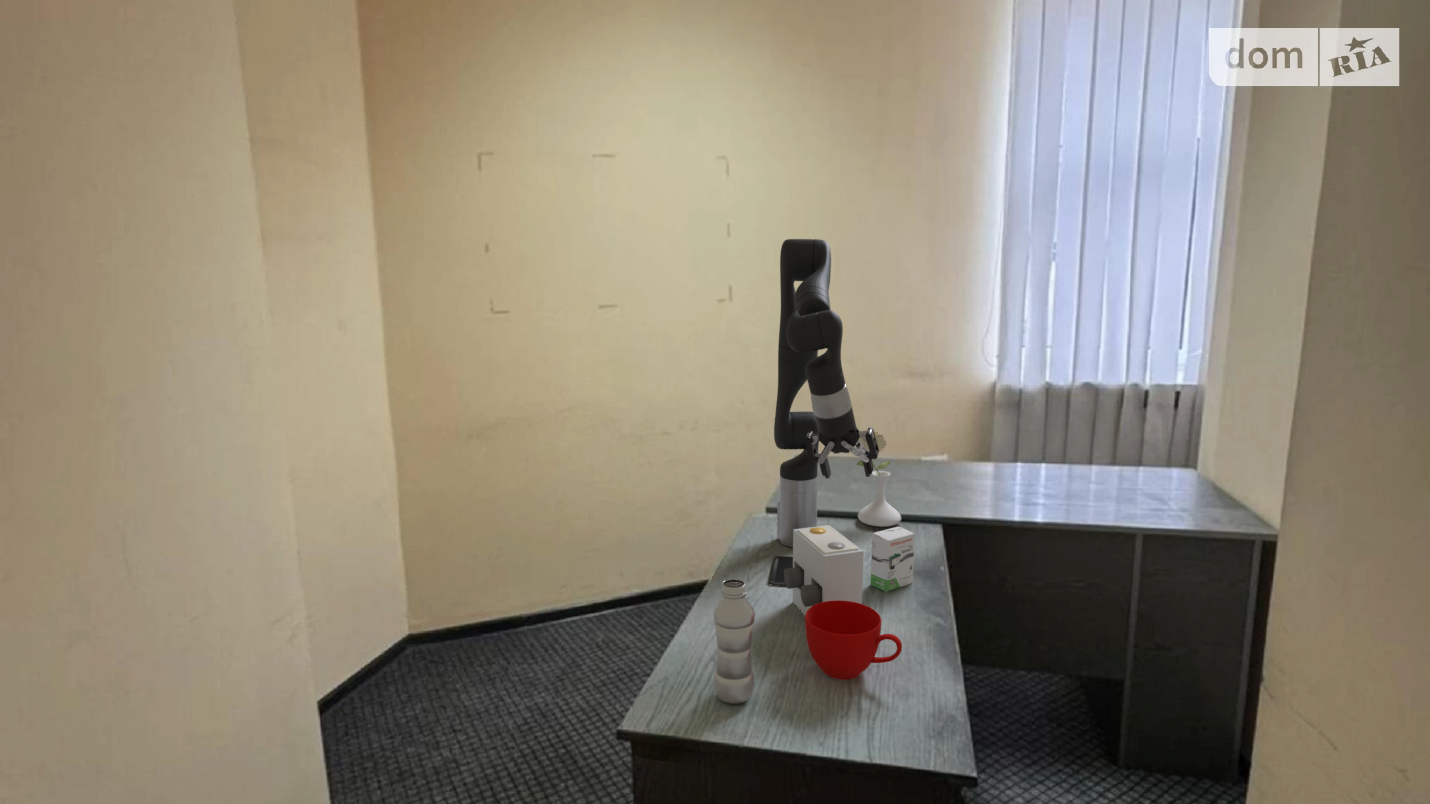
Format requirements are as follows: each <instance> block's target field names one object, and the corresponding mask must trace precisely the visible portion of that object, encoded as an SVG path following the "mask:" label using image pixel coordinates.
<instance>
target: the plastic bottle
mask: <svg viewBox="0 0 1430 804" xmlns="http://www.w3.org/2000/svg"><path fill="white" fill-rule="evenodd" d="M721 587H722V588H721V589H722V590H721V596H722V598H721V600H719V602H718V603H717V605H716V607H715V609H714V611H713V620H714V621H713V622H714V628H715V634H716V645H717V655H716V657H717V658H716V667H715V671H714V672H715V673H714V678H713V687H714V688H713V689H714V693H715V695H716V696H717V698H718V699H719V700H720V701H722V702H723V703H726V704H734V705H735V704H741V703H745V702H746V701H748V700H749V699H750V697H752V695H753V694H754V693H753V692H754V690H755V675H754V671H753V667H752V666H753V665H752V664H753V663H752V641H753V640H752V637H753V630H754V625H755V616H756V613H755V609H754V608H753V606H752V605H751V603H750V601H749V600H748V598H746V596H747V590H746V582H745V581H744V580H742V579H739V578H738V579H737V578H729V579H726V580H724V581H722V583H721Z"/></svg>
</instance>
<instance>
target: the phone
mask: <svg viewBox="0 0 1430 804" xmlns="http://www.w3.org/2000/svg"><path fill="white" fill-rule="evenodd" d="M787 568H793V556H787V555H786V556H784V555H777V556H775V557H774V559H773V563H772V566H771V571H770V575H769V578H768V584H769V583H770V584H772V585H771V586H774V585H779V586H778V587H787V586H786V584H785V581H784V570H785V569H787ZM770 584H769V585H770Z"/></svg>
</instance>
